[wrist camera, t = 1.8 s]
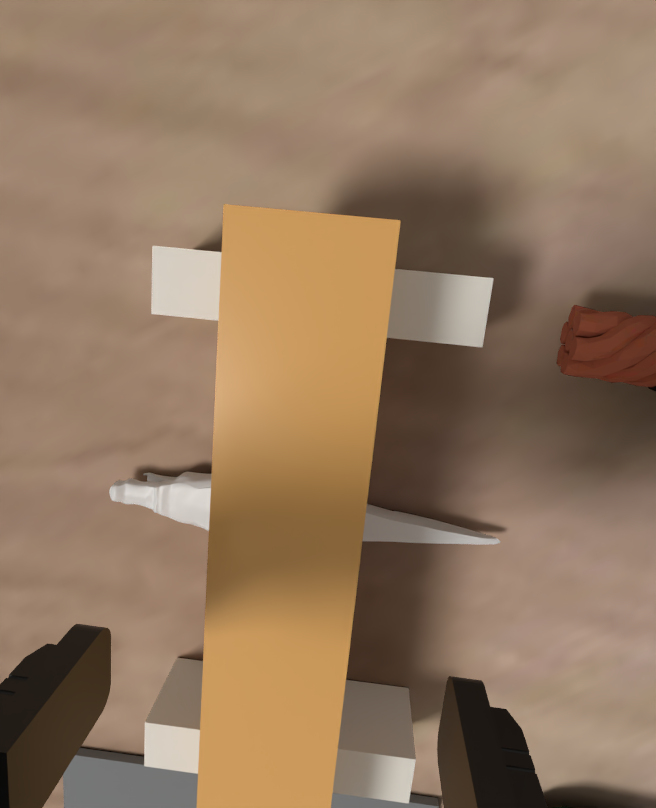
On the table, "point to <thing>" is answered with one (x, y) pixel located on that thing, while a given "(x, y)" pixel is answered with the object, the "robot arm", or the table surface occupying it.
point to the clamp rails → (363, 702)
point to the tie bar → (288, 496)
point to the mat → (163, 786)
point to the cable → (609, 347)
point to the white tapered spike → (192, 506)
